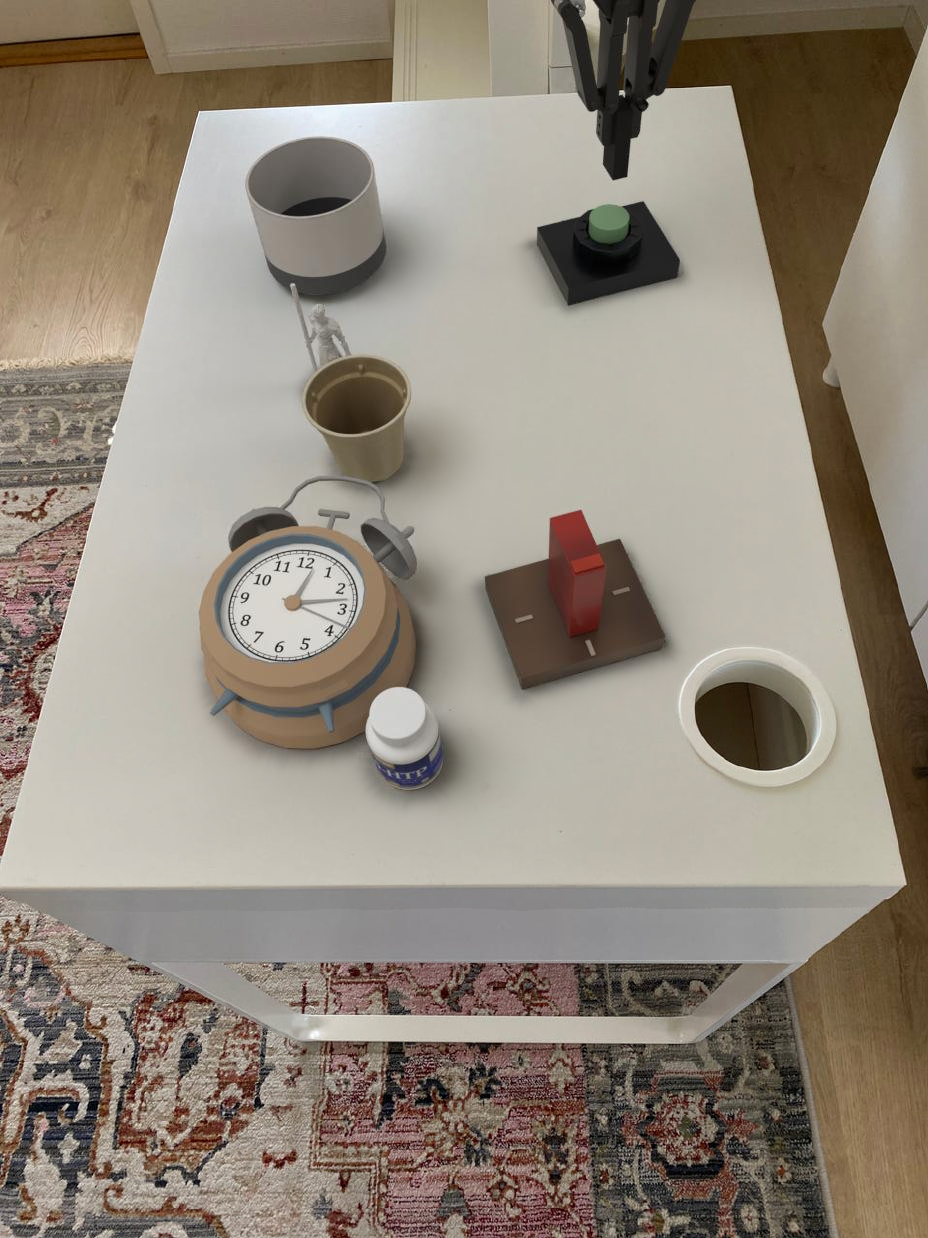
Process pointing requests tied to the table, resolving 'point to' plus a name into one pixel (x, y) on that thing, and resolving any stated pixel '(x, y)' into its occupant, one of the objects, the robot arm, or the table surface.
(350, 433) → the flower pot
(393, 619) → the alarm clock
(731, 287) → the table surface
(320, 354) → the figurine
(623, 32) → the robot arm
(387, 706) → the pill bottle
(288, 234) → the planter
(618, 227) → the release button
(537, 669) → the base plate
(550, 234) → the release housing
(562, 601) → the red rectangular block
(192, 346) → the table surface
